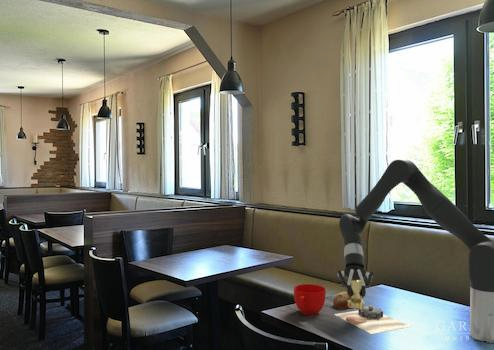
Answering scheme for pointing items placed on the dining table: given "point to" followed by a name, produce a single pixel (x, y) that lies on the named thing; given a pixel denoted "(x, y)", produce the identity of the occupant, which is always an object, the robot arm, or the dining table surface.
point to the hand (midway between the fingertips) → (356, 296)
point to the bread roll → (342, 300)
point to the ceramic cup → (309, 298)
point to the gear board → (372, 320)
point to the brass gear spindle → (356, 295)
